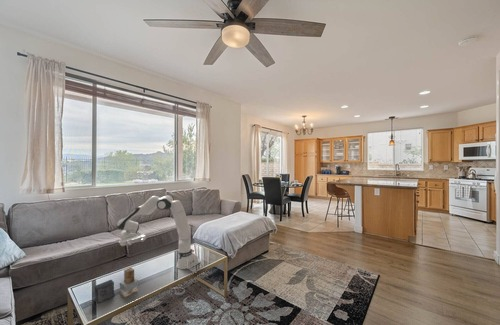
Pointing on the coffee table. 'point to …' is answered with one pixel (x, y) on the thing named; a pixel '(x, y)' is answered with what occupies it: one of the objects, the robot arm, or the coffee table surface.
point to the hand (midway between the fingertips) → (136, 242)
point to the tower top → (128, 285)
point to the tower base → (128, 291)
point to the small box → (104, 291)
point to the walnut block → (129, 275)
